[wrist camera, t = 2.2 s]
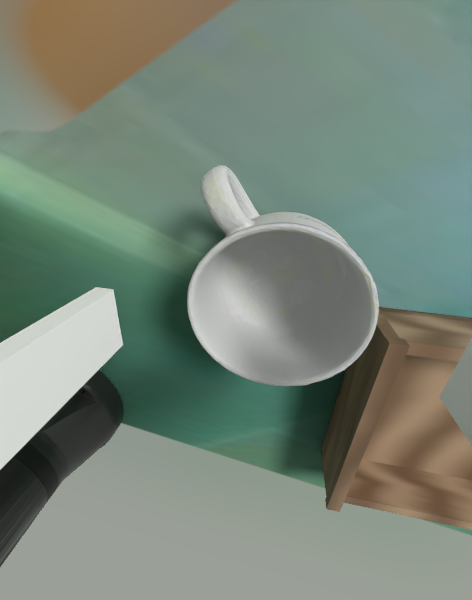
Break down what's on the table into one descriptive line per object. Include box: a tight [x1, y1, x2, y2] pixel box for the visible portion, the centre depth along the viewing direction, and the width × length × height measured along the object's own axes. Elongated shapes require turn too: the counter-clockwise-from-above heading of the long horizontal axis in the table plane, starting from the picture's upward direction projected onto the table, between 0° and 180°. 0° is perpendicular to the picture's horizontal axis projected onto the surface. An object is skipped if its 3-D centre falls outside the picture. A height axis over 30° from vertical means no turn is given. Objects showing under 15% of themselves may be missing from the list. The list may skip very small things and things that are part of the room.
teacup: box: [187, 165, 379, 386], centre depth 18 cm, size 14×11×8 cm
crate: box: [321, 307, 472, 530], centre depth 22 cm, size 20×19×6 cm
